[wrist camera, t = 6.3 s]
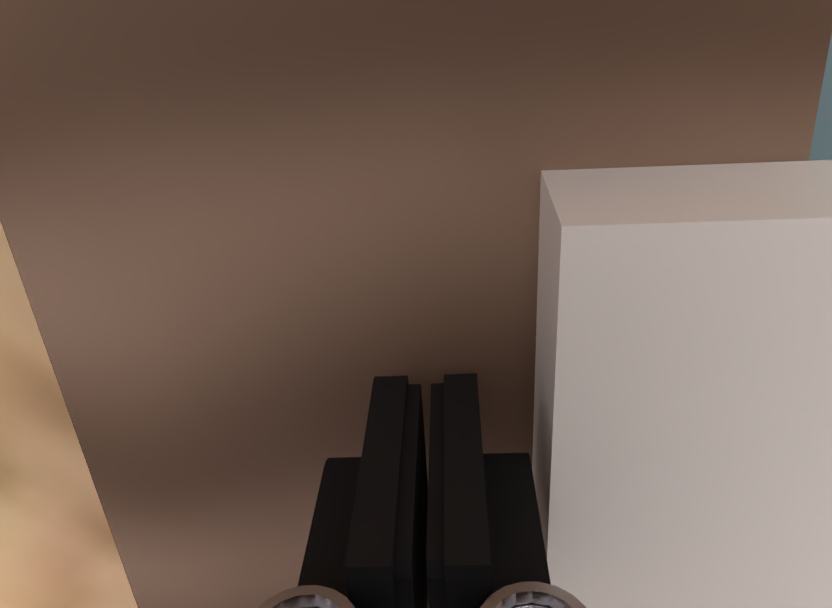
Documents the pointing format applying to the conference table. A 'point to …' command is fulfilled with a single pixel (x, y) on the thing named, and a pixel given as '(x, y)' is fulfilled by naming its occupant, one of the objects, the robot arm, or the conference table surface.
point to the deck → (329, 223)
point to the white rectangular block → (686, 384)
